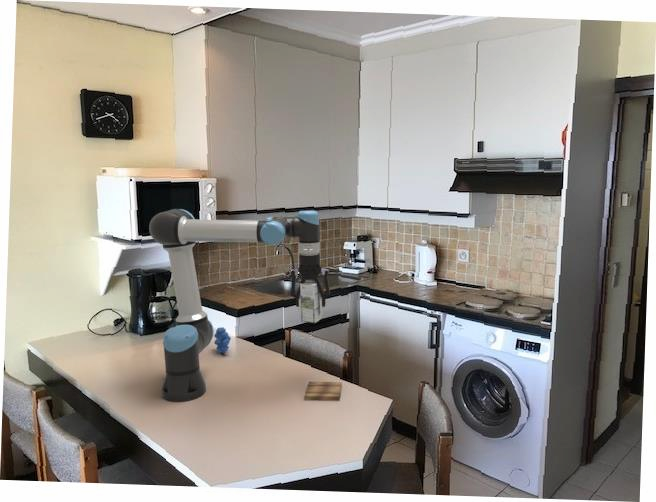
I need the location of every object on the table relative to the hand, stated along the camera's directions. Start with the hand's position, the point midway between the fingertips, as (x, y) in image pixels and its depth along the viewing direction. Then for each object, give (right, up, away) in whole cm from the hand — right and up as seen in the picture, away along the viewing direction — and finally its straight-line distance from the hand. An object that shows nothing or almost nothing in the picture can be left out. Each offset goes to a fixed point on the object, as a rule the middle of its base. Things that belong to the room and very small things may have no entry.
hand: (311, 315), depth 192 cm
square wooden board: (+5, -27, -8) cm, 28 cm away
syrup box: (0, -2, 0) cm, 2 cm away
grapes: (-39, -21, +34) cm, 56 cm away
